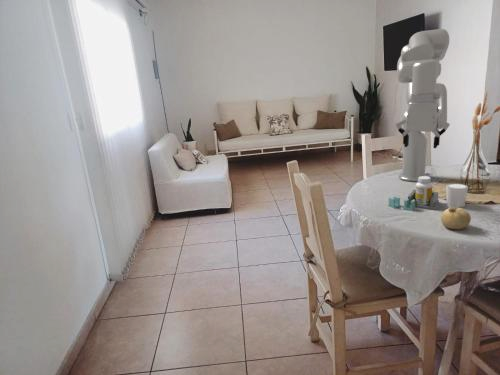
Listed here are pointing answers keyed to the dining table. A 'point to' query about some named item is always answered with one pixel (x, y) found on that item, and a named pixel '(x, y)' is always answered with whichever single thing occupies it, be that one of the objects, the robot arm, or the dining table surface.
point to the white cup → (456, 194)
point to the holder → (430, 206)
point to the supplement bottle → (423, 190)
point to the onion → (455, 218)
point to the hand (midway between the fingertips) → (420, 146)
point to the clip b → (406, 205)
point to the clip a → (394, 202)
